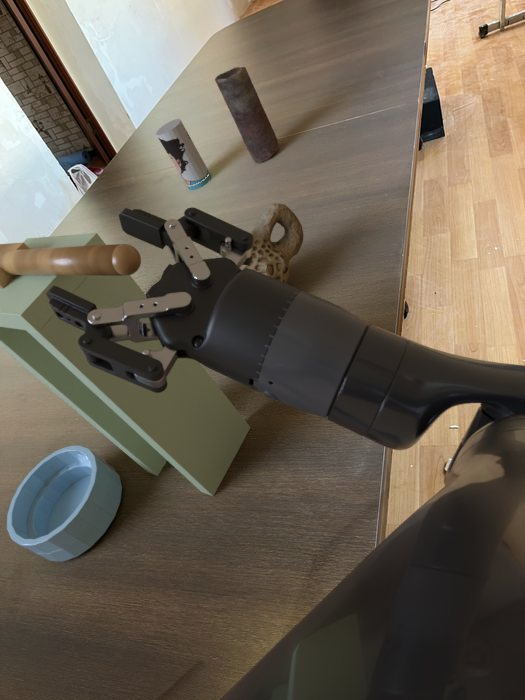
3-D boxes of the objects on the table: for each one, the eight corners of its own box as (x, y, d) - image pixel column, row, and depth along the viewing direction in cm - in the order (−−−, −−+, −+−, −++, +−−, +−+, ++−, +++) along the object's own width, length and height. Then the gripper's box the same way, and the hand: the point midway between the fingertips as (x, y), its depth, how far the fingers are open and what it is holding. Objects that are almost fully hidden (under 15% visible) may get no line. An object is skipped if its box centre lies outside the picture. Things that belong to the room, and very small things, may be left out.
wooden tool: (161, 250, 36) (143, 226, 34) (126, 293, 34) (106, 269, 32) (6, 256, 49) (-10, 239, 48) (-25, 287, 47) (-44, 270, 46)
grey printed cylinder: (202, 172, 129) (171, 118, 119) (216, 174, 124) (185, 118, 114) (183, 188, 127) (151, 135, 117) (197, 191, 122) (164, 135, 112)
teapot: (232, 355, 75) (181, 284, 65) (201, 325, 84) (152, 258, 74) (336, 271, 78) (302, 190, 68) (296, 250, 87) (261, 176, 77)
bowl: (79, 579, 60) (45, 561, 56) (22, 542, 68) (-11, 525, 64) (142, 480, 66) (115, 457, 62) (83, 457, 74) (56, 436, 70)
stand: (213, 496, 59) (20, 315, 39) (148, 472, 67) (-45, 308, 46) (250, 427, 64) (96, 232, 43) (186, 411, 71) (27, 238, 50)
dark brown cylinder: (251, 155, 123) (213, 75, 110) (277, 141, 121) (242, 58, 108) (255, 167, 117) (216, 83, 104) (283, 152, 116) (247, 66, 103)
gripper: (334, 236, 34) (134, 158, 37) (237, 406, 27) (2, 293, 30) (318, 301, 40) (149, 230, 43) (236, 451, 33) (43, 354, 36)
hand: (89, 256), depth 37 cm, fingers open, 8 cm apart
